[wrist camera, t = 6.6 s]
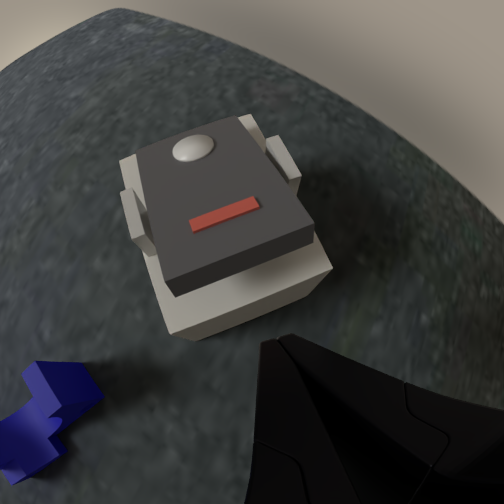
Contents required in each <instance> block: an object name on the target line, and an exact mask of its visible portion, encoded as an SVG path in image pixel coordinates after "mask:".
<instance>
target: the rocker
mask: <svg viewBox="0 0 504 504" xmlns="http://www.w3.org/2000/svg"><path fill="white" fill-rule="evenodd" d="M135 153H136V158H137V164H138V169H139V174H140V180H141V185H142V190H143V194H144V199H145V204H146V209H147V213H148V218H149V222H150V226H151V231H152V235H153V239H154V243H155V247H156V251H157V255H158V259H159V263H160V267H161V271H162V275H163V279H164V282H165V283H166V285H167V286H168V288H169V289H170V291H171V292H172V294H173V295H174V297H175V298H176V297H178V296H181V295H184V294H186V293H189V292H191V291H194V290H196V289H199V288H201V287H204V286H207V285H209V284H212V283H214V282H217V281H219V280H222V279H224V278H227V277H229V276H232V275H234V274H237V273H240V272H242V271H245V270H247V269H250V268H252V267H255V266H257V265H260V264H262V263H265V262H267V261H270V260H272V259H275V258H277V257H280V256H282V255H285V254H287V253H290V252H292V251H295V250H297V249H300V248H302V247H304V246H307V245H309V244H312V243H313V240H314V227H315V223H314V221H313V220H312V218H311V217H310V215H309V214H308V213H307V211H306V210H305V208H304V207H303V205H302V204H301V202H300V201H299V200H298V198H297V197H296V195H295V194H294V193H293V191H292V190H291V188H290V187H289V186H288V184H287V183H286V181H285V180H284V179H283V177H282V176H281V175H280V173H279V172H278V170H277V169H276V168H275V166H274V165H273V164H272V162H271V161H270V160H269V158H268V157H267V156H266V154H265V153H264V152H263V150H262V149H261V148H260V146H259V145H258V144H257V142H256V141H255V140H254V138H253V137H252V136H251V134H250V133H249V132H248V130H247V129H246V128H245V127H244V125H243V124H242V123H241V121H240V120H239V119H238V118H237V116H236V115H235V116H231V117H228V118H225V119H222V120H218V121H215V122H212V123H209V124H206V125H203V126H200V127H197V128H194V129H191V130H189V131H186V132H183V133H180V134H177V135H175V136H172V137H169V138H166V139H164V140H161V141H159V142H156V143H153V144H151V145H148V146H146V147H143V148H141V149H138V150H136V151H135Z"/></svg>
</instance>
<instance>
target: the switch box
mask: <svg viewBox="0 0 504 504" xmlns="http://www.w3.org/2000/svg"><path fill="white" fill-rule="evenodd" d="M238 119H239V120H240V121H241V123H242V124H243V125H244V127H245V128H246V129H247V130H248V132H249V133H250V134H251V136H252V137H253V138H254V140H255V141H256V142H257V144H258V145H259V146H260V148H261V149H262V150H263V152H264V153H265V154H266V156H267V157H268V158H269V160H270V161H271V162H272V164H273V165H274V166H275V168H276V169H277V170H278V172H279V173H280V175H281V176H282V177H283V179H284V180H285V181H286V183H287V184H288V186H289V187H290V188H291V190H292V191H293V193H294V194H295V195H297V191H298V188H299V184H300V180H301V177H302V175H301V173H300V172H299V170H298V168H297V166H296V165H295V163H294V161H293V159H292V158H291V156H290V154H289V152H288V151H287V149H286V147H285V146H284V144H283V142H282V141H281V139H280V137H279V136H278V135H277V136H274V137H270V138H267V139H266V140H265V138H264V136H263V134H262V133H261V131H260V129H259V128H258V126H257V124H256V122H255V121H254V119H253V117H252V116H251V114H249V115H245V116H242V117H238ZM119 162H120V166H121V171H122V175H123V179H124V184H125V188H126V190H124V191H122V192H120V195H121V199H122V203H123V207H124V211H125V216H126V219H127V223H128V227H129V231H130V235H131V239H132V240H133V241H134V242H135V243H136V244H137V245H138V247H139V248H140V249H141V250H142V251H143V255H144V258H145V261H146V265H147V268H148V271H149V274H150V278H151V281H152V284H153V287H154V290H155V293H156V296H157V299H158V302H159V305H160V308H161V311H162V314H163V317H164V319H165V322H166V325H167V328H168V331H169V333H170V335H174V336H177V337H181V338H184V339H188V340H192V341H198V340H201V339H203V338H206V337H209V336H211V335H214V334H216V333H219V332H222V331H224V330H227V329H229V328H232V327H234V326H237V325H239V324H242V323H244V322H247V321H249V320H252V319H254V318H257V317H259V316H261V315H264V314H266V313H269V312H271V311H273V310H276V309H278V308H280V307H283V306H285V305H288V304H290V303H292V302H295V301H297V300H299V299H301V298H304V297H306V296H308V295H309V294H310V292H311V291H312V290H313V289H314V288H315V287H316V286H317V285H318V284H319V283H320V282H321V281H322V280H323V278H324V277H325V276H326V275H327V274H328V273H329V272H330V271H331V270H332V269H333V267H332V265H331V263H330V261H329V259H328V257H327V255H326V253H325V251H324V249H323V247H322V245H321V243H320V241H319V239H318V237H317V235H316V233H315V231H314V240H313V243H312V244H309V245H307V246H304V247H302V248H300V249H297V250H295V251H292V252H290V253H287V254H285V255H282V256H280V257H277V258H275V259H272V260H270V261H267V262H265V263H262V264H260V265H257V266H255V267H252V268H250V269H247V270H245V271H242V272H240V273H237V274H234V275H232V276H229V277H227V278H224V279H222V280H219V281H217V282H214V283H212V284H209V285H207V286H204V287H201V288H199V289H196V290H194V291H191V292H189V293H186V294H184V295H181V296H178V297H176V298H175V297H174V295H173V294H172V292H171V291H170V289H169V288H168V286H167V285H166V283H165V282H164V279H163V275H162V271H161V267H160V263H159V259H158V255H157V251H156V247H155V243H154V239H153V235H152V231H151V226H150V222H149V218H148V213H147V209H146V204H145V199H144V194H143V190H142V185H141V180H140V174H139V169H138V164H137V158H136V154H134V155H132V156H130V157H127V158H125V159H123V160H120V161H119ZM296 197H297V196H296Z"/></svg>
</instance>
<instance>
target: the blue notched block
mask: <svg viewBox="0 0 504 504" xmlns="http://www.w3.org/2000/svg"><path fill="white" fill-rule="evenodd" d="M21 375H22V377H23V378H24V380H25V382H26V384H27V386H28V388H29V389H30V391H31V393H32V395H33V397H32V398H31V400H30V401H29V402H28V403H27V404H25V405H24V406H23V407H22V408H21V409H19V410H18V411H17V412H15V413H14V414H12V415H11V416H9V417H7V418H6V419H4V420H2V421H0V470H2V472H3V473H4V475H5V476H6V478H7V479H8V481H9V482H10V484H11V485H14V484H17V483H19V482H21V481H24V480H26V479H28V478H31V477H32V476H34V475H35V474H36V473H38V472H39V471H41V470H42V469H44V468H45V467H46V466H48V465H49V464H51V463H52V462H54V461H55V460H56V459H58V458H59V457H61V456H62V455H63V454H65V453H66V452H67V449H66V448H65V446H64V445H63V444H62V442H61V441H60V439H59V438H58V436H57V434H59V433H60V432H61V431H62V430H64V429H65V428H66V427H67V426H69V425H70V424H71V423H73V422H74V421H75V420H76V419H78V418H79V417H80V416H81V415H83V414H84V413H85V412H87V411H88V410H89V409H90V408H92V407H93V406H94V405H95V404H97V403H98V402H99V401H100V400H102V399H103V398H104V397H105V396H104V395H103V393H102V392H101V391H100V389H99V388H98V386H97V385H96V383H95V382H94V381H93V379H92V378H91V376H90V375H89V373H88V372H87V370H86V368H85V367H84V365H83V364H82V363H79V362H49V361H34V362H33V363H32V364H31V365H30V366H29V367H28V368H27V369H26V370H25V371H24V372H23V373H22V374H21Z"/></svg>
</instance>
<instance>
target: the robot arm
mask: <svg viewBox="0 0 504 504" xmlns="http://www.w3.org/2000/svg"><path fill="white" fill-rule="evenodd" d="M244 504H504V410H501V409H496V408H492V407H487V406H483V405H478V404H474V403H470V402H466V401H461V400H458V399H454V398H451V397H447V396H443V395H440V394H437V393H434V392H431V391H428V390H426V389H423V388H420V387H417V386H415V385H412V384H410V383H407V382H406V383H404V381H402V380H399V379H397V378H394V377H392V376H389V375H387V374H385V373H382V372H380V371H377V370H375V369H372V368H370V367H368V366H365V365H363V364H361V363H358V362H356V361H354V360H351V359H349V358H347V357H344V356H342V355H340V354H337V353H335V352H333V351H331V350H328V349H326V348H324V347H322V346H319V345H317V344H315V343H313V342H310V341H308V340H306V339H304V338H302V337H299V336H297V335H295V334H292V333H290V334H287V335H283V336H280V337H278V338H277V339H274V338H273V339H269V340H266V341H262V342H260V344H259V361H258V378H257V395H256V411H255V427H254V443H253V454H252V464H251V472H250V479H249V484H248V489H247V494H246V498H245V502H244Z"/></svg>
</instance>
